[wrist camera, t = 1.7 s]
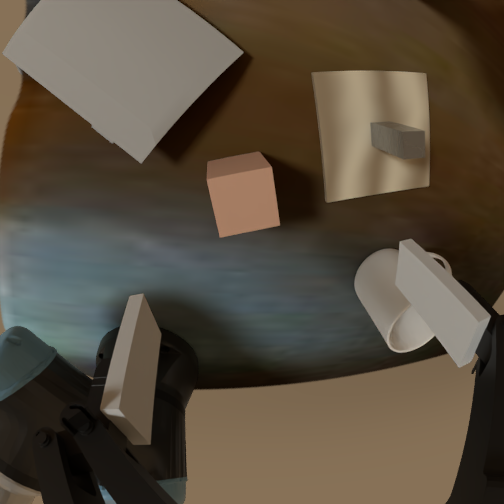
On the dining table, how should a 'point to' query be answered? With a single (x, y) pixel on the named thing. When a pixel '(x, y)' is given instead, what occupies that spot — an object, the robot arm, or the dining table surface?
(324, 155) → the board
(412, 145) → the post
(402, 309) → the mug
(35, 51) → the book
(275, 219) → the pink rectangular block
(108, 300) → the dining table surface
